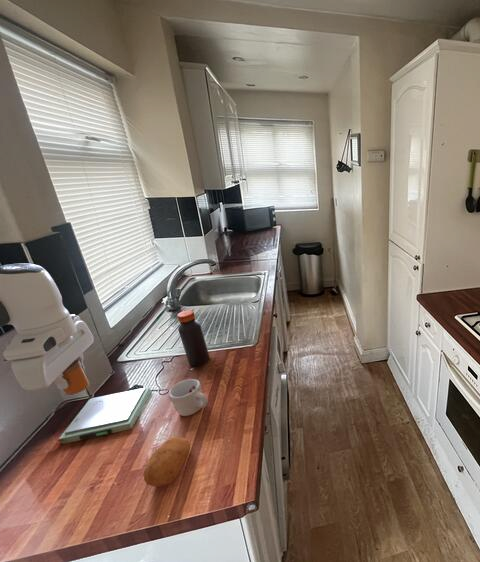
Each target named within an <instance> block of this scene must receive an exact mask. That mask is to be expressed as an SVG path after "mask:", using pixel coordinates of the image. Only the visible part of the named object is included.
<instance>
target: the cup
mask: <svg viewBox="0 0 480 562" xmlns="http://www.w3.org/2000/svg"><path fill="white" fill-rule="evenodd" d="M167 396H168V398H169V400H170V401H171V403H172V405H173V408H174V409H175V411H176V412H177V413H178V414H179V415H180V416H183V417H188V416H192V415H194V414H196V413H197V412H198V411H200V409H201V408H202V409H203V408H206V407H207V406H208V403H209V400H208V397H207V395H205V393H203V391H202V387H201V383H200V381H199V380H198V379H196V378H189V379H184V380H181V381H179V382H177V383H176V384H174V385H173V386H172V387H170V389H169V391H168V395H167Z"/></svg>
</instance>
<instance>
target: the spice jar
mask: <svg viewBox="0 0 480 562" xmlns="http://www.w3.org/2000/svg"><path fill="white" fill-rule="evenodd" d="M62 374H63V376H62V378H64V379H69V380H70V382H71V384H70V385H69V386H68V387H67V388H66V389H62V390H63V392H64V394H65V395H67V396H72V395H77V394H79V393H82V392H83V391H85V390H86V389H88V388H89V386H90V381H89V379H88V377H87V375H86V373H85V370H83V369H82V367H81V363H80V361H79V360H78V359H76V360H75V361H74V362H73V363H72V364H71V365H70V366H69V367H68V368H67V369H65V370H64V371H63V372H62Z"/></svg>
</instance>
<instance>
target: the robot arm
mask: <svg viewBox="0 0 480 562" xmlns="http://www.w3.org/2000/svg"><path fill="white" fill-rule="evenodd" d="M6 325H11V326H13V328H14V329H15V331H16V333H15V334H14V335H13V338H12V340H11V342H10V343H9V344H8V345H7V347H6V348H5V349H4V351H3V354H2V355H3V358H4V359H5V360H6V361H12V362H11V370H12V373H13V375H14V377H15V379H16V381H17V382H18V383H19V385H20V387H21V388H22V389H23V390H25V391H29V392H32V391H33V392H34V391H38V390H43V389H47V388H48V387H50V386H51V384H54V385H56V387H57V389H58V390H63V389H66V388H67V387H68V386H69V385H70V384H71V382H70V380H69V379H64V378H62V376H63V374H62V372H63V371H64V370H65V369H67V368H68V367H69V366H70V365H71V364H72V363H73V362H74V361H75V360H76V359H78V360H79V361H80V363H81V367H82V369H83V371H85V370H86V367H85V365H84V352H85V351H86V350H88V348H90V346H92V344H93V343H94V341H95V340H94V338H95V337H94V335H93V333H92V332H91V329H90V328H89V326H88V324H87V323H86V322H85V321H84V320H81V317H80V316H79V315H76V314H74V313H73V314H70V312H69V310H68V309H67V308H66V307H65V306H64V303H63V297H62V294H61V291H60V290H59V287H58V285H57V283H56V282H55V280H54V278H53V277H52V276H51V274H50V273H49V272H48V271H47V270H46V269H45V268H44V267H43V266H41V265H39V264H34V263H26V262H23V263H22V262H21V263H19V262H18V263H11V264H3V265H0V328H1V327H4V326H6Z"/></svg>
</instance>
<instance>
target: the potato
mask: <svg viewBox="0 0 480 562" xmlns="http://www.w3.org/2000/svg"><path fill="white" fill-rule="evenodd" d="M190 450H191V442H190V441H189V440H188V439H187V438H185V437H183V436H181V437H180V436H177V437H172V438H171V437H170V438H168V439H167V440H166V441H165V442H163V443H162V444H161V445H160V446H159V447H158V448H157V449H155V450H154V452H152V454H151V455H150V457H149V459H148V461H147V463H146V466H145V468H144V471H143V480H144V482H145V484H146V485H147V486H150V487H155V488H161V487H163V486H164V487H165V486H167V485H169V484H171V483H172V482H174V481H175V480H176V478H177V477H178V476H179V474H180V471H181V469H182V467H183V465H184V463H185V461H186V459H187V457H188V456H189V453H190Z"/></svg>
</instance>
